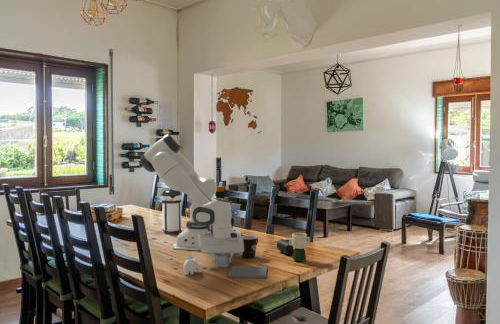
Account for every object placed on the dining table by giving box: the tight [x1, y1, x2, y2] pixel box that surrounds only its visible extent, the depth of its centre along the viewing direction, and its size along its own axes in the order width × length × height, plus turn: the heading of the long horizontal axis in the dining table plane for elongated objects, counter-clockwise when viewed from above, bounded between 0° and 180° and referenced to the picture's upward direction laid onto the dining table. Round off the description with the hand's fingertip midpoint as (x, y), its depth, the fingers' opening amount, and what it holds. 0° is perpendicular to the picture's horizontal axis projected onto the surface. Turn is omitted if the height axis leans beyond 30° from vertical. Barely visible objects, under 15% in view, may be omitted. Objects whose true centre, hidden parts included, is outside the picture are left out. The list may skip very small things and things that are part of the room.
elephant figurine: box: [180, 254, 203, 276], centre depth 185 cm, size 8×10×7 cm
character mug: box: [288, 232, 311, 262], centre depth 202 cm, size 11×7×13 cm, turn 107°
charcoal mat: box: [227, 265, 268, 279], centre depth 185 cm, size 16×14×1 cm
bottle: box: [211, 185, 235, 233], centre depth 264 cm, size 16×16×30 cm
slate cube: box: [215, 253, 230, 268], centre depth 196 cm, size 5×5×5 cm
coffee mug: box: [241, 234, 259, 260], centre depth 211 cm, size 12×9×10 cm
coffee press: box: [161, 188, 183, 235], centre depth 271 cm, size 17×16×30 cm
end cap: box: [276, 238, 295, 257], centre depth 216 cm, size 10×7×7 cm
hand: (222, 262), depth 196 cm, fingers closed on slate cube, 5 cm apart
